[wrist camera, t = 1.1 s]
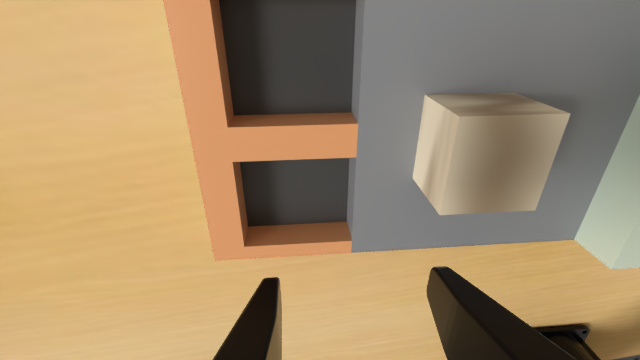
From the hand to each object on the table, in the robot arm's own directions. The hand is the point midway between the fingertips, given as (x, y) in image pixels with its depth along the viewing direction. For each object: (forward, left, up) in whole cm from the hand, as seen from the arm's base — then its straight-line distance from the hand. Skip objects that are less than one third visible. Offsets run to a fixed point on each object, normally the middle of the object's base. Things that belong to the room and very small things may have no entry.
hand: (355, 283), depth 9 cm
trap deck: (-7, 0, -13) cm, 15 cm away
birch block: (-8, 0, -10) cm, 13 cm away
